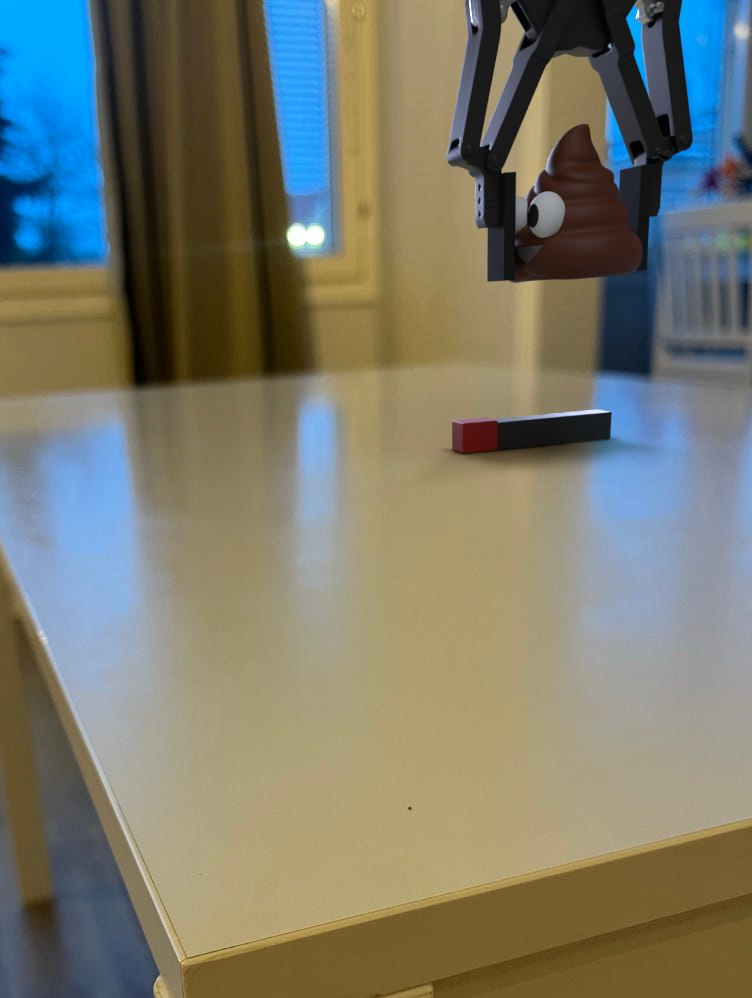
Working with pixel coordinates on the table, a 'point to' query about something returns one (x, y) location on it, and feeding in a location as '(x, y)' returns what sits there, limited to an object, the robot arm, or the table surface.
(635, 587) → the table surface
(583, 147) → the poop emoji
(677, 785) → the table surface
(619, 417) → the table surface
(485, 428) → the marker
